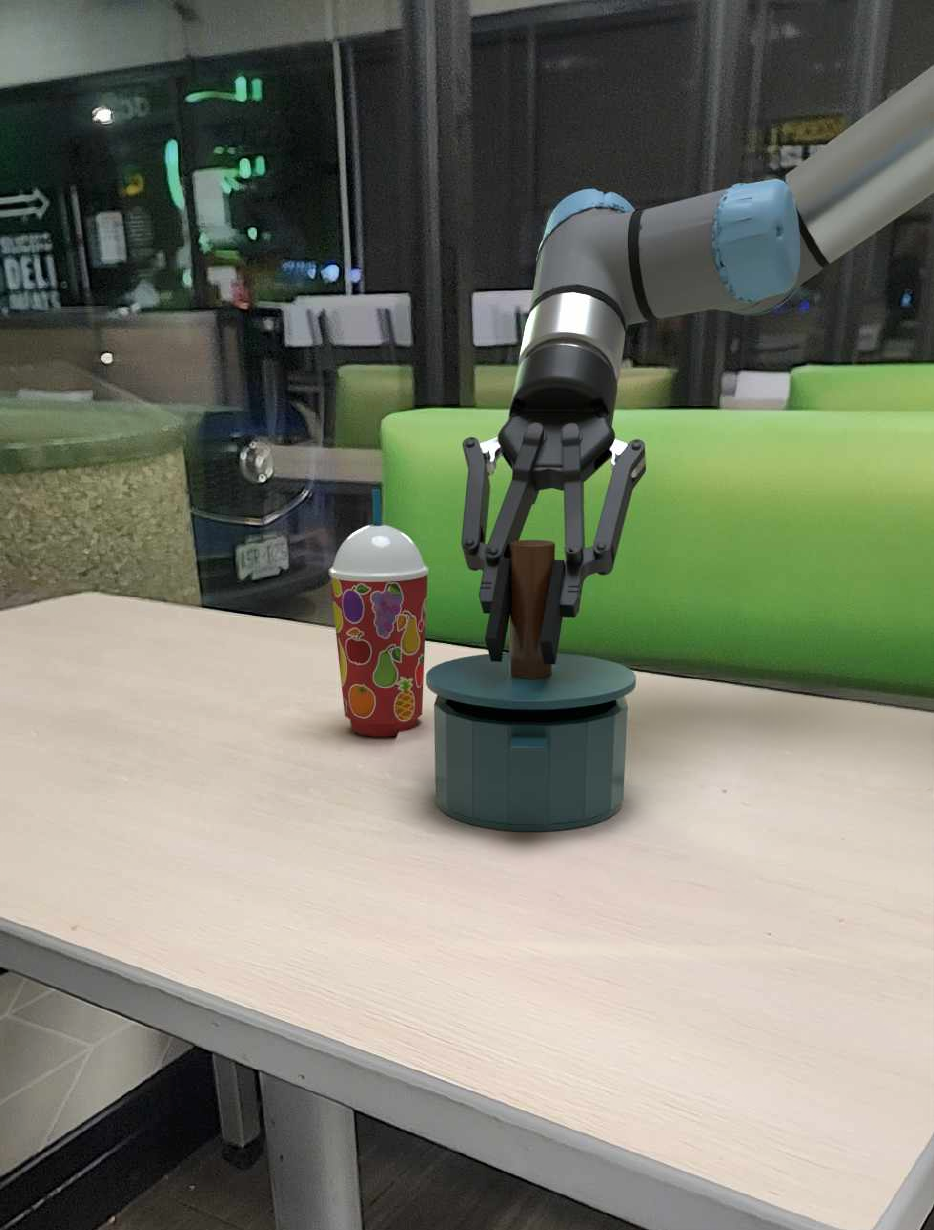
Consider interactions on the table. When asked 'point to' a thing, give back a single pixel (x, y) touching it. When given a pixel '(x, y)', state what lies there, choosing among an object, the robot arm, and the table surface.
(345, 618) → the smoothie
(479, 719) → the tin
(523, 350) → the robot arm
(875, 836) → the table surface
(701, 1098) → the table surface
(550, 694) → the lid
